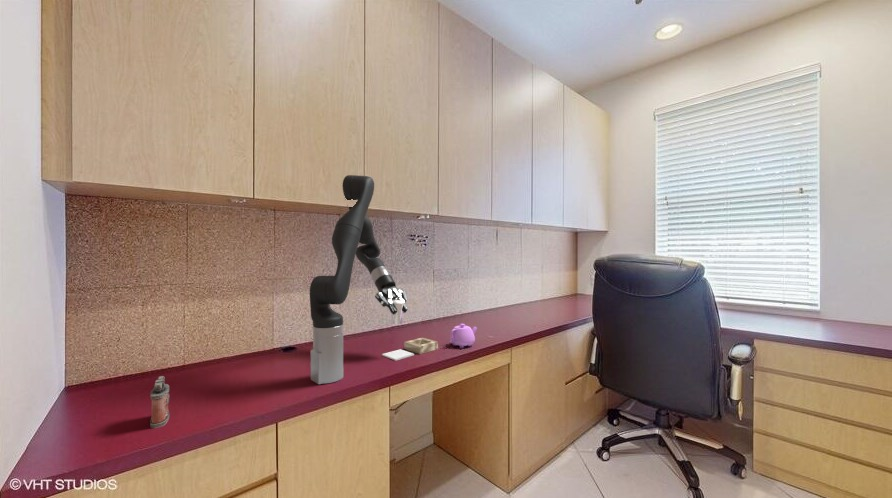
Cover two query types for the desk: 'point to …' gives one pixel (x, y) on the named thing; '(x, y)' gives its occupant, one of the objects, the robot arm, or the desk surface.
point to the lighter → (159, 403)
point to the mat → (397, 354)
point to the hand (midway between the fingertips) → (400, 312)
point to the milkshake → (398, 311)
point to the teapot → (463, 335)
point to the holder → (421, 345)
